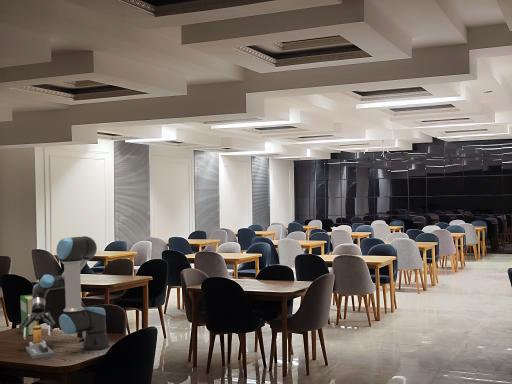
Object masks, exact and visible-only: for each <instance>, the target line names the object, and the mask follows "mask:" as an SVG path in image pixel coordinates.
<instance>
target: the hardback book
mask: <svg viewBox="0 0 512 384" xmlns="http://www.w3.org/2000/svg"><path fill="white" fill-rule="evenodd" d="M32 298H33V294H26V295H25V294H24V295H20V299H19V301H20V319H21V321H20V323H21V322H22V321H23V319H24V318H25V316H26V313H28V314H31V313H32ZM30 318H31V317H29V318H28V320H29V319H30ZM28 320H27V321H28ZM27 321H26V322H27ZM36 325H40V321H34V322H32V323H31V324H30V325H29V326H28V327H27V328H26V337H29V336H30V335H31V336H32V335H33V326H36Z"/></svg>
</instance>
